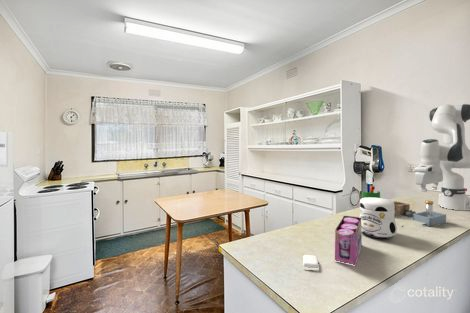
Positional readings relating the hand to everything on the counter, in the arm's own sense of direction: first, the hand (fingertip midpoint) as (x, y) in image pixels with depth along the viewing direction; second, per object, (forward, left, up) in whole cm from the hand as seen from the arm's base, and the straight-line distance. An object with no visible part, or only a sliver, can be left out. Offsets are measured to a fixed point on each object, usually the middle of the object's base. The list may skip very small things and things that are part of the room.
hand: (429, 190), depth 136 cm
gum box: (+72, +8, -19) cm, 75 cm away
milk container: (+42, -1, -19) cm, 46 cm away
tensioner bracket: (+1, -14, -19) cm, 24 cm away
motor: (+16, -24, -19) cm, 35 cm away
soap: (+94, +9, -20) cm, 96 cm away
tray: (0, 0, -19) cm, 19 cm away
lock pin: (0, 0, -18) cm, 18 cm away
